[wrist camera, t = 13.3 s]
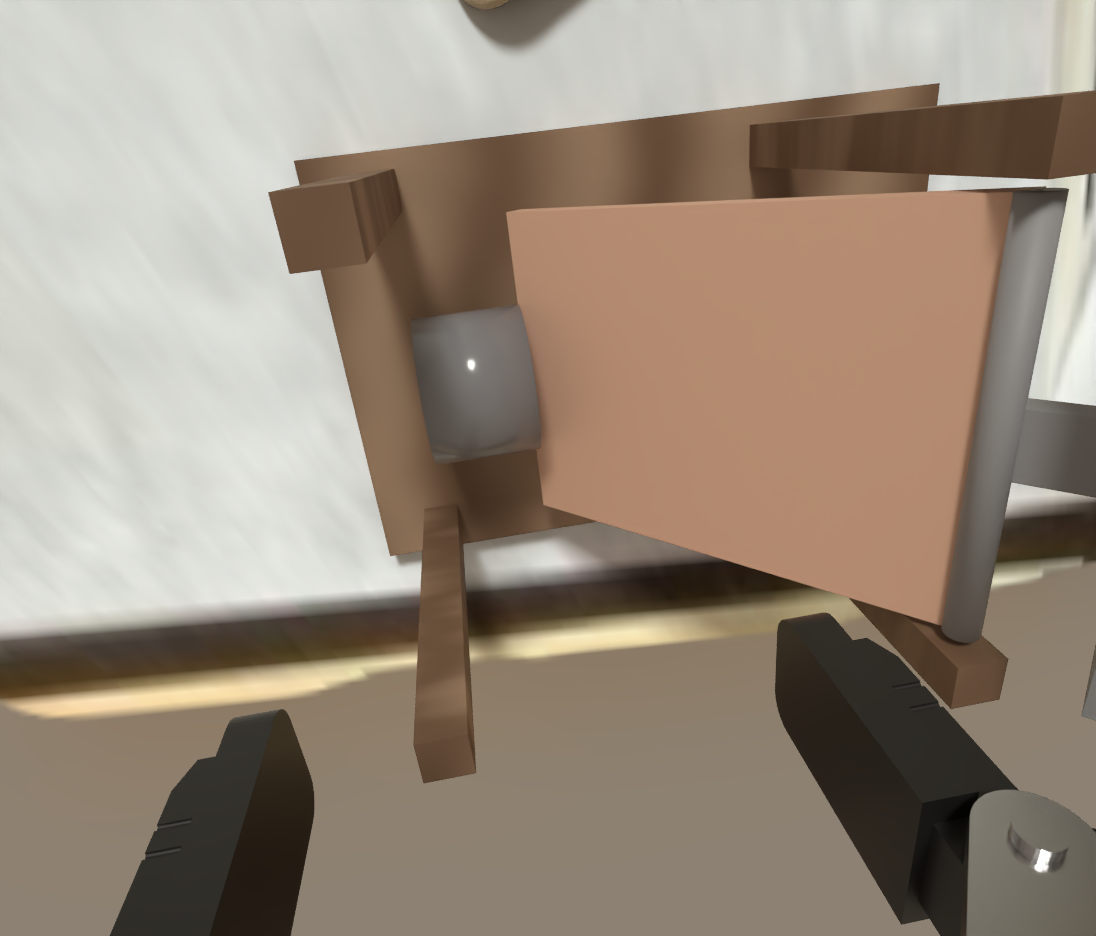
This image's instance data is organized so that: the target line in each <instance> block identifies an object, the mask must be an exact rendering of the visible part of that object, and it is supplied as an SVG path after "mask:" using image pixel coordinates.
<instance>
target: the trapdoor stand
mask: <svg viewBox="0 0 1096 936" xmlns="http://www.w3.org/2000/svg"><path fill="white" fill-rule="evenodd" d="M939 84H940V83H938V84H930V85H921V86H913V87H905V88H896V89H888V90H880V91H872V92H863V93H855V94H847V95H838V96H830V97H822V98H813V99H805V100H797V101H788V102H780V103H772V104H763V105H755V106H747V107H738V108H730V109H722V110H713V111H705V112H697V113H688V114H680V115H672V116H664V117H655V118H647V119H639V120H630V121H622V122H614V123H605V124H597V125H589V126H580V127H572V128H564V129H555V130H547V131H539V132H530V133H522V134H514V135H505V136H497V137H489V138H480V139H472V140H464V141H456V142H447V143H439V144H431V145H422V146H414V147H406V148H397V149H389V150H381V151H372V152H364V153H356V154H347V155H339V156H331V157H322V158H314V159H306V160H297V161H294V163H295V167H296V171H297V176H298V180H299V184H300V185H299V186H295V187H290V188H286V189H281V190H277V191H273V192H268V193H269V197H270V201H271V205H272V208H273V212H274V216H275V220H276V224H277V227H278V231H279V235H280V239H281V243H282V246H283V250H284V254H285V258H286V262H287V265H288V269H289V273H290V274H293V273H300V272H308V271H315V270H321V274H322V278H323V282H324V286H325V290H326V294H327V299H328V303H329V307H330V311H331V315H332V319H333V323H334V327H335V331H336V336H337V340H338V344H339V348H340V352H341V356H342V360H343V364H344V368H345V372H346V377H347V381H348V385H349V389H350V393H351V397H352V401H353V405H354V409H355V413H356V418H357V422H358V426H359V430H360V434H361V438H362V442H363V446H364V450H365V455H366V459H367V463H368V467H369V471H370V475H371V479H372V483H373V487H374V491H375V496H376V500H377V504H378V508H379V512H380V516H381V520H382V524H383V528H384V532H385V537H386V541H387V545H388V549H389V553H390V556H394V555H400V554H406V553H412V552H418V551H422V573H421V594H420V616H419V637H418V659H417V680H416V703H415V723H414V749H415V752H416V756H417V760H418V764H419V768H420V771H421V775H422V779H423V783H428V782H433V781H438V780H443V779H449V778H454V777H459V776H463V775H469V774H474V773H476V763H475V745H474V727H473V710H472V692H471V674H470V657H469V639H468V621H467V604H466V586H465V569H464V551H463V544H465V543H471V542H477V541H483V540H489V539H495V538H501V537H507V536H513V535H519V534H525V533H531V532H537V531H543V530H549V529H555V528H561V527H567V526H573V525H579V524H585V523H591V522H597V521H595V520H592V519H588V518H585V517H582V516H578V515H575V514H572V513H569V512H565V511H562V510H559V509H555V508H552V507H549V506H546V505H543V497H542V489H541V482H540V474H539V466H538V458H537V450H530V451H523V452H517V453H511V454H504V455H498V456H492V457H485V458H479V459H473V460H466V461H460V462H454V463H447V464H441V465H436V463H435V461H434V458H433V454H432V451H431V447H430V443H429V439H428V435H427V430H426V426H425V421H424V416H423V411H422V405H421V400H420V394H419V388H418V382H417V375H416V369H415V361H414V354H413V345H412V333H411V321H412V319H416V318H423V317H430V316H437V315H444V314H451V313H458V312H466V311H473V310H480V309H487V308H494V307H501V306H508V305H515V304H518V302H517V294H516V286H515V278H514V270H513V262H512V255H511V247H510V239H509V231H508V223H507V216H506V212H510V211H515V210H520V209H538V208H561V207H584V206H607V205H630V204H653V203H676V202H699V201H722V200H745V199H768V198H792V197H815V196H838V195H861V194H884V193H907V192H927V188H928V179H929V174H931V175H955V176H979V177H1003V178H1027V179H1055V178H1062V177H1070V176H1077V175H1085V174H1092V173H1096V90H1095V91H1084V92H1074V93H1064V94H1053V95H1043V96H1033V97H1023V98H1012V99H1002V100H992V101H981V102H971V103H961V104H950V105H940V106H937V101H938V93H939ZM848 598H849V597H848ZM849 599H850V600H851V601H852V602H853V603H854V604H855V605H856V606H857V607H858V608H859V610H860V611H861V612H862V613H863V614H864V615H865V616H866V617H867V618H868V619H869V620H870V621H871V623H872V624H873V625H874V626H875V627H876V628H877V629H878V630H879V631H880V632H881V633H882V635H884V637H885V638H886V639H887V640H888V641H889V642H890V643H891V644H892V645H893V647H894V648H895V649H896V650H897V651H898V652H899V653H900V654H901V655H902V656H903V657H904V658H905V659H906V661H907V662H908V663H909V664H910V665H911V666H912V667H913V668H914V669H915V671H917V672H918V674H919V675H920V676H921V677H922V678H923V679H924V680H925V681H926V682H927V684H928V685H929V686H930V687H931V688H932V689H933V690H934V691H935V692H936V693H937V694H938V696H940V698H941V699H942V700H943V701H944V702H945V703H946V704H947V705H948V706H949V707H950V709H953V708H958V707H964V706H968V705H974V704H979V703H984V702H989V701H994V700H999V698H1000V694H1001V690H1002V685H1003V681H1004V676H1005V671H1006V666H1007V662H1008V658H1007V657H1005V656H1004V655H1003V654H1002V653H1001V652H1000V651H999V650H998V649H996V648H995V647H994V646H993V645H992V644H991V643H990V642H989V641H987V640H986V639H985V638H984V637H983V636H982V635H981V638H980V639H979V640H978V641H976V642H973V643H962V642H958V641H955V640H952V639H950V638H949V637H947V636H946V635H945V634H944V633H943V632H942V629H941V627H942V626H941V625H937V624H934V623H931V622H928V621H924V620H921V619H918V618H914V617H911V616H908V615H905V614H901V613H898V612H895V611H891V610H888V609H885V608H881V607H878V606H875V605H872V604H868V603H865V602H862V601H858V600H855V599H852V598H849Z"/></svg>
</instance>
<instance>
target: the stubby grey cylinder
mask: <svg viewBox="0 0 1096 936" xmlns="http://www.w3.org/2000/svg"><path fill="white" fill-rule="evenodd" d="M411 333H412V345H413V354H414V361H415V369H416V375H417V382H418V388H419V394H420V400H421V405H422V411H423V416H424V421H425V426H426V430H427V435H428V439H429V443H430V447H431V451H432V454H433V458H434V461H435V463H436V465H441V464H447V463H454V462H460V461H466V460H473V459H479V458H485V457H492V456H498V455H504V454H511V453H517V452H523V451H530V450H536V449H540V448H541V429H540V417H539V408H538V400H537V392H536V384H535V378H534V371H533V365H532V359H531V353H530V347H529V342H528V337H527V332H526V327H525V323H524V318H523V315H522V311H521V308H520V306H519V304H515V305H508V306H501V307H494V308H487V309H480V310H473V311H466V312H458V313H451V314H444V315H437V316H430V317H423V318H416V319H412V321H411Z"/></svg>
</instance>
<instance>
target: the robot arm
mask: <svg viewBox="0 0 1096 936" xmlns="http://www.w3.org/2000/svg"><path fill="white" fill-rule="evenodd" d="M775 694H776V702H777V707H778V711H779V714H780V717H781V720H782V722H783V725H784V727H785V729H786V731H787V732H788V734H789V736H790V737H791V739H792V741H793V742H794V744H795V746H796V748H797V749H798V751H799V753H800V754H801V756H802V758H803V759H804V761H805V763H806V764H807V766H808V768H809V769H810V771H811V773H812V775H813V776H814V778H815V780H816V781H817V783H818V785H819V786H820V788H821V790H822V791H823V793H824V795H825V796H826V798H827V800H828V801H829V803H830V805H831V806H832V808H833V810H834V812H835V813H836V815H837V817H838V818H839V820H840V822H841V824H842V825H843V827H844V829H845V830H846V832H847V834H848V835H849V837H850V839H851V840H852V842H853V844H854V845H855V847H856V849H857V851H858V852H859V854H860V855H861V857H862V859H863V860H864V862H865V864H866V866H867V867H868V869H869V871H870V872H871V874H872V876H873V877H874V879H875V880H876V883H877V884H878V886H879V888H880V889H881V891H882V893H883V894H884V896H885V897H886V899H887V901H888V903H889V904H890V906H891V908H892V910H893V911H894V913H895V915H896V916H897V918H898V920H899V921H900V923H901V924H906V923H911V922H915V921H920V920H924V919H929V918H930V920H931V921H932V923H933V925H934V926H935V928H936V930H937V931H938V932H939V934H940V936H1096V829H1094V828H1091V827H1090V826H1089V825H1088V824H1087V823H1086V822H1085V821H1083V820H1082V819H1081V818H1080V817H1079V816H1077V815H1076V814H1075V813H1073V812H1072V811H1070V810H1069V809H1067V808H1066V807H1064V806H1062V805H1060V804H1059V803H1057V802H1054V801H1052V800H1050V799H1048V798H1046V797H1043V796H1040V795H1037V794H1034V793H1030V792H1025V791H1019V790H1018V789H1017V788H1016V787H1015V786H1014V785H1013V784H1012V783H1011V782H1010V780H1009V779H1008V778H1007V777H1006V776H1005V775H1004V774H1003V773H1002V772H1001V770H1000V769H999V768H998V767H997V766H996V765H995V764H994V763H993V761H992V760H991V759H990V758H989V757H988V756H987V755H986V754H985V753H984V752H983V750H982V749H981V748H980V747H979V746H978V745H977V744H976V743H975V742H974V740H973V739H972V738H971V737H970V736H969V735H968V734H967V733H966V732H965V730H964V729H963V728H962V727H961V726H960V725H959V724H958V723H957V722H956V721H955V719H954V718H953V717H952V716H951V715H950V714H949V713H948V712H947V710H945V708H944V707H940V706H939V704H938V701H937V699H936V698H935V697H934V696H933V695H932V694H931V693H930V692H929V691H928V689H927V688H926V687H925V686H921V684H920V681H919V679H918V678H917V677H916V676H915V675H914V674H913V673H912V672H911V671H910V670H909V668H908V667H907V666H906V665H905V664H904V663H903V662H902V661H901V659H900V658H899V657H898V656H896V655H894V654H893V653H891V652H889V651H888V650H886V649H884V648H883V647H881V646H879V645H878V644H876V643H875V642H873V641H871V640H870V639H868V638H864V639H858V640H852V639H851V638H850V637H849V635H848V634H847V633H846V632H845V631H844V629H843V628H842V627H841V626H840V625H839V623H838V622H837V621H836V620H835V619H834V618H833V617H832V616H831V615H830V614H828V613H819V614H813V615H808V616H802V617H797V618H791V619H786V620H782V621H781V622H780V623H779V625H778V631H777V657H776V683H775ZM313 818H314V790H313V783H312V779H311V776H310V773H309V770H308V767H307V764H306V762H305V759H304V756H303V753H302V750H301V748H300V745H299V742H298V740H297V737H296V734H295V731H294V728H293V725H292V723H291V720H290V718H289V715H288V714H287V712H286V711H285V710H282V709H280V710H274V711H269V712H264V713H258V714H252V715H247V716H241V717H236V718H233V719H232V720H231V721H230V722H229V724H228V726H227V728H226V731H225V733H224V736H223V739H222V741H221V744H220V747H219V749H218V752H217V754H216V757H211V758H205V759H200V760H197V762H196V763H195V764H194V765H193V766H192V768H191V769H190V770H189V771H188V772H187V773H186V775H185V776H184V777H183V778H182V779H181V781H180V782H179V783H178V784H177V786H176V787H175V788H174V789H173V790H172V791H171V794H170V796H169V798H168V801H167V803H166V805H165V808H164V810H163V813H162V815H161V817H160V819H159V822H158V824H157V825H158V829H157V831H154V833H153V836H152V838H151V841H150V843H149V845H148V847H147V850H146V852H145V854H146V858H145V860H142V861H141V864H140V866H139V869H138V871H137V873H136V876H135V878H134V880H133V883H132V885H131V887H130V890H129V892H128V894H127V897H126V899H125V901H124V904H123V906H122V908H121V911H120V913H119V915H118V918H117V920H116V922H115V925H114V927H113V929H112V932H111V934H110V936H291V930H292V926H293V921H294V916H295V910H296V905H297V900H298V895H299V890H300V885H301V880H302V875H303V870H304V865H305V859H306V854H307V849H308V844H309V839H310V834H311V829H312V824H313Z"/></svg>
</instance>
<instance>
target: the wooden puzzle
mask: <svg viewBox="0 0 1096 936" xmlns="http://www.w3.org/2000/svg"><path fill="white" fill-rule="evenodd" d="M464 1H465V2H466V3H468V4H469V5H471V6H473V7H475V8H478V9H484V10H488V9H493V8H496V7H499V6H501V5H503V4H505V3H506V2H508V1H510V0H464Z"/></svg>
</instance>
